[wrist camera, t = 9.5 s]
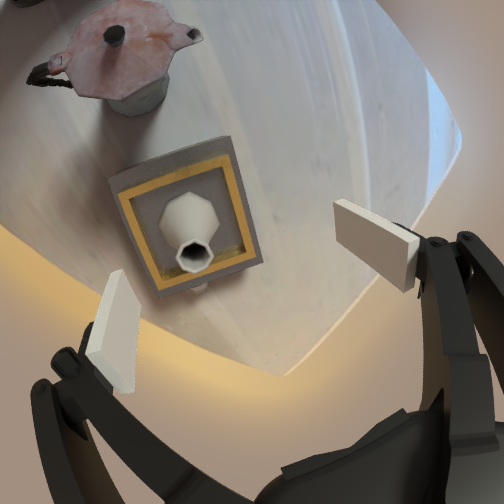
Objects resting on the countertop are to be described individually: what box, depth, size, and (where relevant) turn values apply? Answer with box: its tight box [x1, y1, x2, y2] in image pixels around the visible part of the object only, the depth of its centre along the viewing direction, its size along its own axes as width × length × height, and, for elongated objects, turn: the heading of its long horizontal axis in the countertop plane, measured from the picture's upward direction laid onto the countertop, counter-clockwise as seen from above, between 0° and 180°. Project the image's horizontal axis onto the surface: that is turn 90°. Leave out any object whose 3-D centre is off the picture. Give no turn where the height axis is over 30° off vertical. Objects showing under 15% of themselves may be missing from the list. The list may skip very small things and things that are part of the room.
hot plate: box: [107, 136, 263, 299], centre depth 34 cm, size 19×15×8 cm
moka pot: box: [26, 0, 204, 117], centre depth 19 cm, size 10×15×20 cm, turn 98°
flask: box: [157, 191, 221, 275], centre depth 27 cm, size 7×7×10 cm
